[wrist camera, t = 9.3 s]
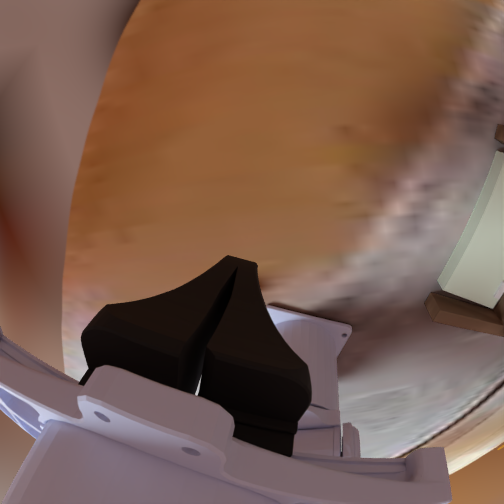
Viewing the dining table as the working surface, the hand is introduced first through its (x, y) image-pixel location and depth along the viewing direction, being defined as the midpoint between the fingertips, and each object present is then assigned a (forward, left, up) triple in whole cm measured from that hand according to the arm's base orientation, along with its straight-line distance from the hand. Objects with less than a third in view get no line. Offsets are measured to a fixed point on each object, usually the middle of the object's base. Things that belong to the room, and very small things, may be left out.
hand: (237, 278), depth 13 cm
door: (+4, -19, -10) cm, 22 cm away
